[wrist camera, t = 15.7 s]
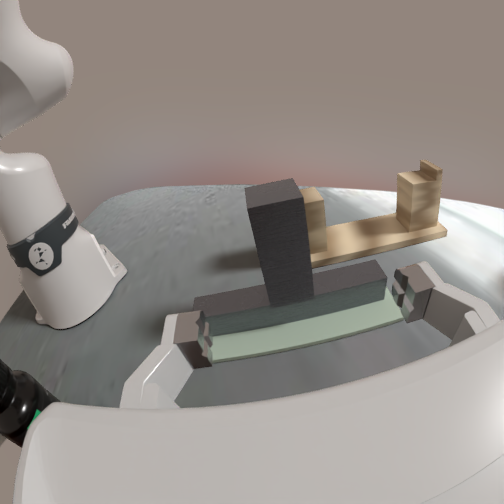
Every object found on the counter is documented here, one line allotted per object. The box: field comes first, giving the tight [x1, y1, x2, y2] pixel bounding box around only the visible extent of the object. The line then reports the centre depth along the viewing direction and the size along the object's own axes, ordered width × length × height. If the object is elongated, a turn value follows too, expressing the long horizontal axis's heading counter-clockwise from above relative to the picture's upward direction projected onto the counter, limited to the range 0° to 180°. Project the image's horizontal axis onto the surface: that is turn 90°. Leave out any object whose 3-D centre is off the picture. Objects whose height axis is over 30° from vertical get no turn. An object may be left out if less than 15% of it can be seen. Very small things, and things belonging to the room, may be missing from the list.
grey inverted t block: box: [193, 178, 387, 337], centre depth 25 cm, size 19×4×13 cm, turn 94°
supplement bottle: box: [0, 359, 61, 448], centre depth 15 cm, size 7×7×12 cm
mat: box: [210, 287, 404, 363], centre depth 28 cm, size 21×9×1 cm, turn 94°
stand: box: [300, 160, 447, 268], centre depth 34 cm, size 24×7×10 cm, turn 94°
